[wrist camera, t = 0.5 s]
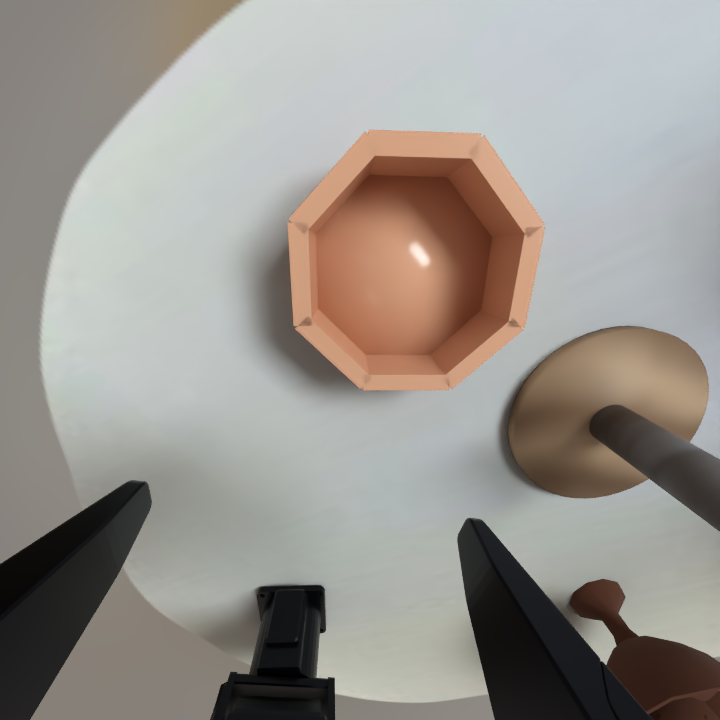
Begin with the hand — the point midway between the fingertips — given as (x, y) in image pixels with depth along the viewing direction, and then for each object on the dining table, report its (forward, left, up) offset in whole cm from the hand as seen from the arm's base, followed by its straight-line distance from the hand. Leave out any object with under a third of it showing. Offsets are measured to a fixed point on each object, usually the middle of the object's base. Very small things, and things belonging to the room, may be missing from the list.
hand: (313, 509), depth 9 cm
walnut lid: (-5, -21, -14) cm, 26 cm away
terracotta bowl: (+6, -4, -14) cm, 16 cm away
